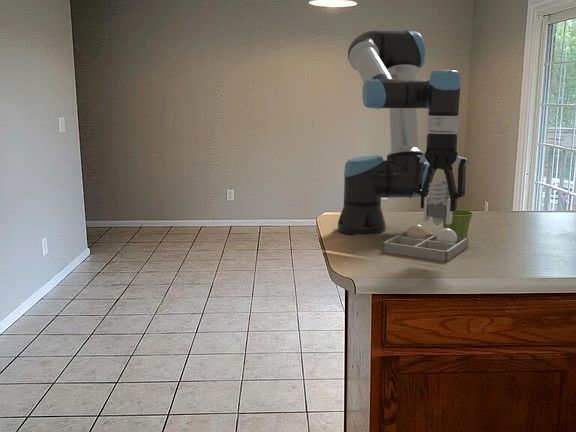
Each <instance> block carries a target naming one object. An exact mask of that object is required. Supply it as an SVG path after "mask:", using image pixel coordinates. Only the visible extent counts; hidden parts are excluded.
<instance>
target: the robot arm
mask: <svg viewBox="0 0 576 432" xmlns="http://www.w3.org/2000/svg"><path fill="white" fill-rule="evenodd" d="M425 56H426V46H425V41H424V39H423V36H422V34H420V33H419V32H418V31H413V30H407V29H406V30H376V29H375V30H373V29H372V30H370V31H366V32H363V33H361V34H359V35H358V36H357V37H355V38H354V39H353V40H352V42H351V43H350V45H349V46H348V49H347V60H348V62H349V64H350V66H351V68H353V69H354V70H356V71H357V72H358V74H359V76H360V78H361V81H362V82H363V85H362V93H361V94H362V96H361V97H362V104H363V106H364V107H365V108H368V109H369V108H370V109H375V110H380V109H389V129H390V130H389V131H390V149H391V150H390V151H389V153H388V154H386V160H385V159H384V158H383V156H382V155H366V156H358V157H353V158H349V159H348V160H347V161H346V162H345V164H344V173H343V180H344V181H343V205H342V206H343V207H342V210H341V213H340V216H339V219H338V222H337V231H338V232H339V233H342V234H346V235H352V236H354V235H377V234H381V233H384V232H386V230H387V229H386V228H387V225H386V224H387V223H386V219H385V218H384V213H383V209H382V198H383V199H384V198H385V199H389V198H391V199H392V198H394V199H396V198H397V199H398V198H401V199H402V198H409V199H412V198H420V208H421V209H423V221H422V222H424V223H427V222H428V221H430V218H431V217H430V216H428V205H429V204H431V203H432V202H431V200H432V199H429V198H428V196H429V194H428V192H429V191H430V190H429V189H428V188H429V187H431V186H430V185H429V183H433V180H434V177H435V175H436V172H437V170H439V169H440V170H443V173H444V176H445V181H446V182H447V184H448V189H449V194H450V195H449V199H447V201H446V204H447V212H446V224H451V223H452V214H453V212H454V211H456V210H458V209H457V207H458V206H457V205H458V204H457V203H458V199H460V198H463V197H465V194H466V170H467V168H466V167H467V164H468V162H469V158H467V157H463V156H459V154H458V151H457V147H458V134H457V133H456V132H458V130H459V115H460V114H459V110H460V96H461V87H462V83H461V82H462V81H461V73H460V71H459V70H453V69H452V70H451V69H441V70H439V69H437V70H433V71H431V72H430V76H429V79H416V76H417V75H419V73H420V71H421V68H423V67H424V65H425V62H426V57H425ZM418 109H423V110H424V109H425V110H428V113H427V115H428V116H427V131H428V132H429V133H427V134H426V150H425V152H423V151H422V150H421V149H420V146H419V144H420V143H419V142H420V141H419V127H418V126H419V125H418V123H419V122H418ZM455 162H456V164H457V165H458V169H457V185H456V181H455V176H454V170H453V169H454V168H453V164H455Z"/></svg>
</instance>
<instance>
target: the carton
mask: <svg viewBox="0 0 576 432" xmlns="http://www.w3.org/2000/svg"><path fill="white" fill-rule="evenodd" d="M407 231H408V229H407V230H405V231H404V232H402V233H400V234H397V235H395V236H393V237H391V238H388V239H387V240H385V241H382V252H383V253H389V254H396V255H402V256H403V255H404V256H410V257H415V258H416V257H417V258H421V259H429V260H434V261H441V262H448V261H450V260H452V259H453V258H454V257H456V256H457V255H459V254H460V253H461V252H463V251H464V250H466V249H467V248H468V245H469V238H468V237H467V238H462V237H457V242H456V244H451V243H444V242H437V241H436V236H437V233H431V232H427V237H426V239H425V240H422V239H415V238H408V237H407Z"/></svg>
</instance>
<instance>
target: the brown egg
mask: <svg viewBox="0 0 576 432" xmlns="http://www.w3.org/2000/svg"><path fill="white" fill-rule="evenodd" d="M407 230H408V231H407ZM407 230H406V231H407V237H408V238H415V239H422V240H425V239H426V237H427V233H428V231H427V229H426V228H425V227H424V226H423V225H421V224H412V225H410V226H409V228H408V229H407Z"/></svg>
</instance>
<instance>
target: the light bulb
mask: <svg viewBox="0 0 576 432" xmlns="http://www.w3.org/2000/svg"><path fill="white" fill-rule="evenodd" d="M429 185H430V187H429V188H428V189H429V192H428V195H427V196H428V198H429V199H431V200H436V201H434V203H432V202H431V203H430V204H429V205H428V216H430V218H432V223H433V224H434V225H436V226H439V225H440V224H443V218H445V217H446V212H447V203H444V202H447V199H449V198H450V194H449V189H448V184H447V180H443V179H440V178H438V179H436V182H432V183H429Z"/></svg>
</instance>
